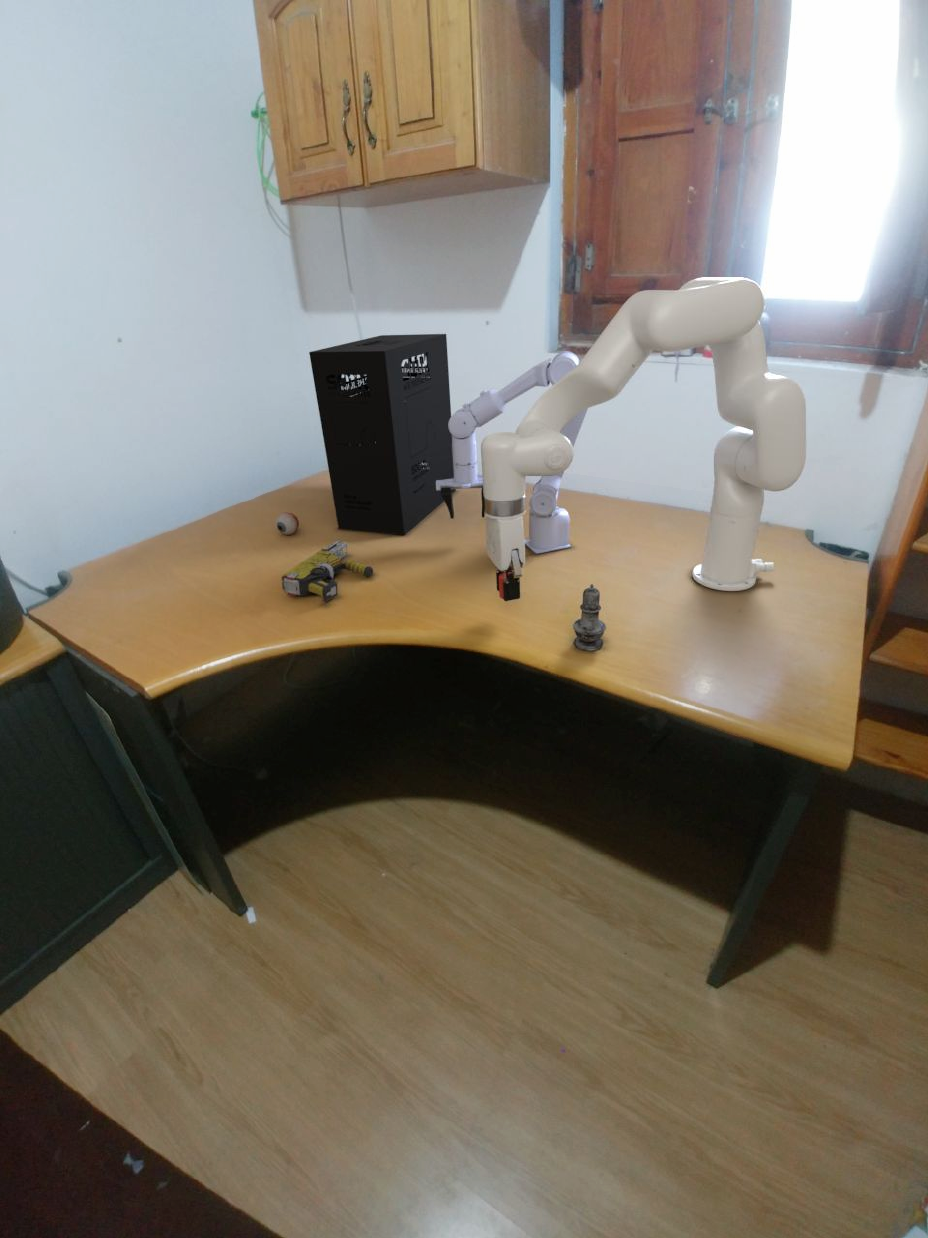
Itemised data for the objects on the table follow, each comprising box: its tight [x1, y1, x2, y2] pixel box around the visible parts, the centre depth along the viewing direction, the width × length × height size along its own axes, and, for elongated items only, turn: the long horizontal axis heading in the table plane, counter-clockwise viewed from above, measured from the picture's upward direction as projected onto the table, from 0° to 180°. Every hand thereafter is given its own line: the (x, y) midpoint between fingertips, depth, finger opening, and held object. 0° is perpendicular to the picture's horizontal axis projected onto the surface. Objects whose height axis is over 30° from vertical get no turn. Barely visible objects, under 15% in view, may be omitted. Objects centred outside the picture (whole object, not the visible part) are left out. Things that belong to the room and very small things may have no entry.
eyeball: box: [275, 511, 300, 536], centre depth 163 cm, size 6×6×6 cm
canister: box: [498, 571, 513, 600], centre depth 117 cm, size 4×4×4 cm
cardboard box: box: [308, 333, 457, 536], centre depth 167 cm, size 38×20×45 cm, turn 160°
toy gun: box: [281, 539, 374, 603], centre depth 138 cm, size 5×24×15 cm
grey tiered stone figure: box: [572, 583, 607, 652], centre depth 107 cm, size 6×6×12 cm
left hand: (467, 516), depth 150 cm, fingers open, 7 cm apart
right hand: (508, 593), depth 118 cm, fingers closed on canister, 3 cm apart
